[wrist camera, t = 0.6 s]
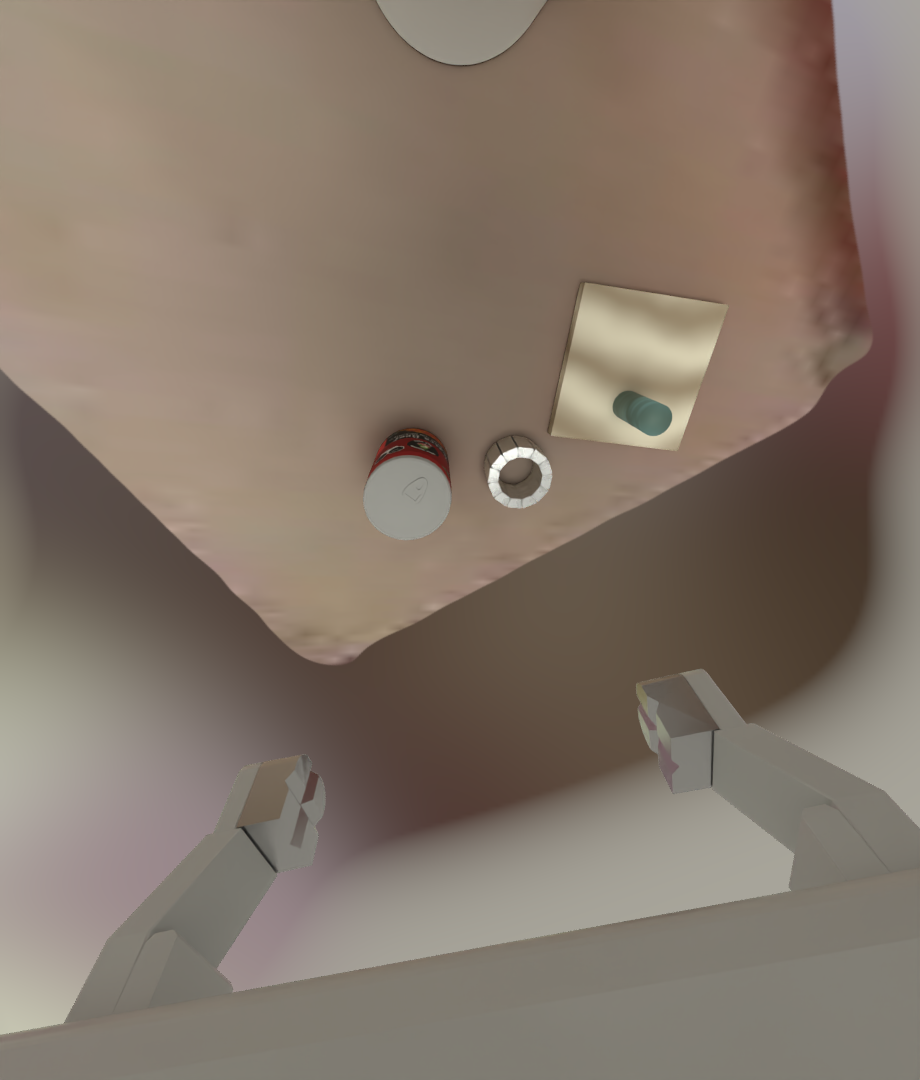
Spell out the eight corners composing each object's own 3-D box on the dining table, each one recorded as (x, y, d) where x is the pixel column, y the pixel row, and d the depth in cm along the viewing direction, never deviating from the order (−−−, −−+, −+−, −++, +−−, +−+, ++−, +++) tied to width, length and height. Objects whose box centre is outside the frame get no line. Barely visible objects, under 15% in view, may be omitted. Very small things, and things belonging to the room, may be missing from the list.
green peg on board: (580, 283, 42) (612, 278, 35) (720, 305, 44) (779, 305, 36) (547, 432, 49) (568, 455, 41) (670, 447, 50) (713, 472, 43)
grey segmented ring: (489, 432, 48) (494, 444, 44) (547, 439, 49) (558, 451, 45) (480, 489, 51) (484, 504, 47) (535, 494, 52) (544, 510, 48)
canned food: (459, 441, 49) (465, 476, 39) (431, 506, 52) (431, 552, 42) (390, 414, 47) (379, 442, 37) (366, 482, 50) (350, 525, 40)
